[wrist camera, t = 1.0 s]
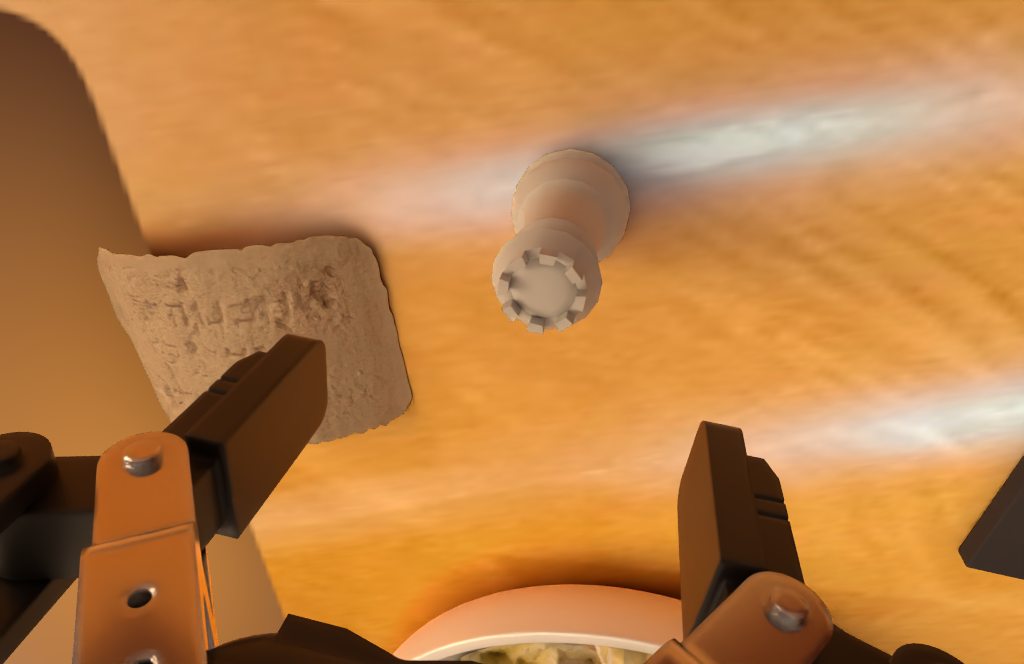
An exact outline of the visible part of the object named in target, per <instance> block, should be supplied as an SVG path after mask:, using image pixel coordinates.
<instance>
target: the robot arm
mask: <svg viewBox="0 0 1024 664" xmlns="http://www.w3.org/2000/svg"><path fill="white" fill-rule="evenodd" d="M327 402H328V392H327V366H326V348H325V344H324V342H323V341H322V340H317V339H312V338H307V337H303V336H298V335H293V334H286V335H284V336H283V337H282V338H281V339H280V340H279V341H278V342H277V343H276V344H275V345H274V346H273V347H272V348H271V349H270V350H269V351H268V352H267V353H266V352H261V351H258V352H256V353H254V354H252V355H249V356H247V357H245V358H243V359H241V360H239V361H237V362H236V363H234V364H233V365H232V366H231V367H230V368H229V369H228V370H227V371H226V372H225V373H224V374H223V375H222V376H221V379H217V380H216V381H215V382H214V383H213V384H212V385H211V386H210V387H209V388H208V391H205V392H204V393H203V394H202V395H201V396H199V397H198V398H197V399H196V400H195V401H194V402H193V403H192V404H191V405H190V406H189V407H188V408H187V409H186V410H185V411H184V412H182V413H181V414H180V415H179V416H178V417H177V418H176V419H175V420H174V421H173V422H172V423H171V424H170V425H169V426H168V427H167V428H166V429H164V431H162V432H147V433H141V434H137V435H133V436H130V437H127V438H125V439H123V440H121V441H119V442H117V443H115V444H114V445H112V446H111V447H110V448H108V449H107V450H106V451H105V452H104V453H103V455H102V456H76V457H55V456H54V452H53V450H52V447H51V443H50V442H49V440H48V439H47V438H45V437H44V436H42V435H40V434H36V433H30V432H14V433H7V434H1V435H0V664H3V663H4V662H5V660H7V658H8V657H9V656H10V655H11V654H12V653H13V651H14V650H15V649H16V648H17V647H18V645H19V644H20V643H21V642H22V641H23V640H24V639H25V637H26V636H27V635H28V634H29V633H30V632H31V630H32V629H33V628H34V627H35V626H36V625H37V624H38V623H39V621H40V620H41V619H42V618H43V616H44V615H45V614H46V613H47V612H48V611H49V610H50V609H51V607H52V606H53V605H54V604H55V603H56V602H57V600H58V599H59V598H60V597H61V596H62V595H63V594H64V592H65V591H66V590H67V589H68V588H69V587H70V585H71V584H72V583H73V582H74V581H75V580H76V578H79V581H78V595H77V607H76V620H75V633H74V645H73V658H72V664H483V663H479V662H475V661H448V660H403V659H400V658H397V657H396V656H394V655H392V654H390V653H389V652H387V651H385V650H383V649H381V648H380V647H378V646H376V645H374V644H373V643H371V642H369V641H367V640H366V639H364V638H362V637H360V636H359V635H357V634H355V633H353V632H352V631H350V630H348V629H346V628H342V627H338V626H334V625H330V624H327V623H323V622H319V621H315V620H311V619H307V618H303V617H299V616H295V615H291V614H288V615H287V617H286V619H285V621H284V623H283V624H282V626H281V628H280V630H279V631H278V633H268V634H260V635H253V636H248V637H244V638H239V639H237V640H233V641H230V642H227V643H224V644H222V645H219V646H218V639H217V632H216V624H215V615H214V606H213V598H212V589H211V580H210V571H209V563H208V554H207V549H206V545H207V544H208V543H209V541H210V540H211V539H212V538H213V536H214V535H215V534H220V535H224V536H228V537H232V538H236V539H238V538H239V536H240V535H241V534H242V532H243V531H244V529H245V528H246V527H247V525H248V524H249V523H250V521H251V520H252V519H253V517H254V516H255V514H256V513H257V512H258V510H259V509H260V508H261V506H262V505H263V504H264V502H265V501H266V499H267V498H268V497H269V495H270V494H271V493H272V491H273V490H274V488H275V487H276V486H277V484H278V483H279V482H280V480H281V479H282V477H283V476H284V475H285V473H286V472H287V471H288V469H289V468H290V467H291V465H292V464H293V462H294V461H295V460H296V458H297V457H298V456H299V454H300V453H301V451H302V450H303V449H304V447H305V446H306V445H307V443H308V442H309V440H310V439H311V438H312V436H313V435H314V434H315V432H316V431H317V429H318V428H319V427H320V425H321V423H322V421H323V419H324V416H325V413H326V409H327ZM677 509H678V533H679V556H680V579H681V603H682V626H683V641H682V642H681V643H680V642H679V641H677V640H676V639H675V638H673V639H671V640H669V641H667V642H666V643H665V644H664V645H663V646H661V647H660V648H659V649H658V650H657V651H656V652H655V653H654V654H653V655H652V656H651V657H650V658H649V659H648V660H647V661H646V662H645V663H643V664H964V663H962V662H961V661H960V660H958V659H957V658H955V657H953V656H952V655H950V654H948V653H946V652H944V651H942V650H940V649H938V648H935V647H932V646H929V645H924V644H916V643H913V644H906V645H903V646H901V647H900V648H898V649H897V650H896V651H895V653H894V654H893V656H891V655H889V654H887V653H885V652H883V651H881V650H879V649H877V648H875V647H873V646H871V645H869V644H867V643H865V642H863V641H861V640H859V639H857V638H855V637H853V636H852V635H850V634H848V633H846V632H844V631H843V630H842V629H840V628H839V627H837V626H836V625H835V624H833V621H832V617H831V615H830V612H829V610H828V609H827V607H826V605H825V604H824V602H823V601H822V600H821V599H820V597H819V596H818V595H817V594H816V593H815V592H814V591H812V590H811V589H810V588H809V587H808V586H806V585H805V583H804V579H803V575H802V571H801V567H800V563H799V559H798V554H797V550H796V546H795V542H794V538H793V534H792V530H791V526H790V522H789V521H788V513H787V509H786V505H785V504H784V497H783V493H782V489H781V485H780V481H779V478H778V477H777V476H776V474H775V473H774V472H773V470H772V469H771V468H770V466H769V465H768V464H767V462H766V461H765V460H764V459H762V458H757V457H752V456H748V455H747V454H746V448H745V443H744V438H743V433H742V430H741V429H740V428H736V427H732V426H727V425H722V424H717V423H712V422H708V421H702V422H701V424H700V426H699V428H698V431H697V434H696V437H695V440H694V443H693V446H692V449H691V452H690V455H689V458H688V461H687V464H686V467H685V470H684V472H683V475H682V479H681V483H680V488H679V494H678V505H677Z"/></svg>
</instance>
